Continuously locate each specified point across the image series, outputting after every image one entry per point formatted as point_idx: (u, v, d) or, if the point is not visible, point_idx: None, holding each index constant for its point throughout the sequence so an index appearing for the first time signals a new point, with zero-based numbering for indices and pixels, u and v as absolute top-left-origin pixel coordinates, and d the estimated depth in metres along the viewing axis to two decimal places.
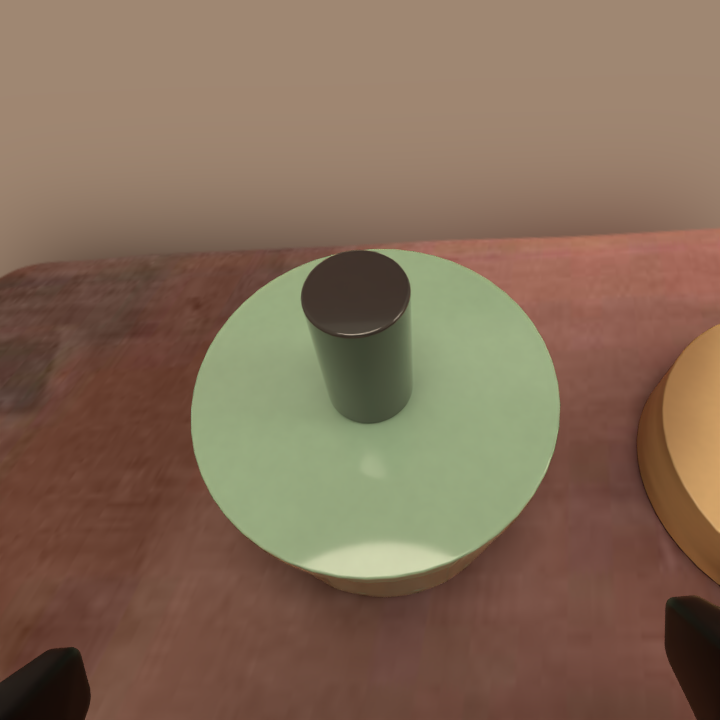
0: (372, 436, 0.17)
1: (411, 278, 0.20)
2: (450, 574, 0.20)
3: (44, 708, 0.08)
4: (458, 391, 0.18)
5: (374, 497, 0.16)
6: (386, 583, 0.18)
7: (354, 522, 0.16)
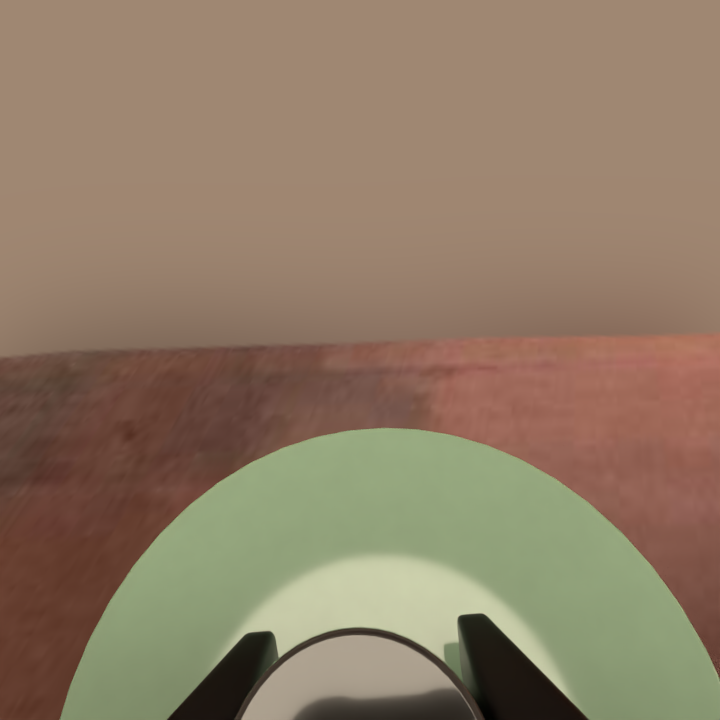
0: None
1: (451, 493, 0.12)
2: None
3: None
4: None
5: None
6: None
7: None
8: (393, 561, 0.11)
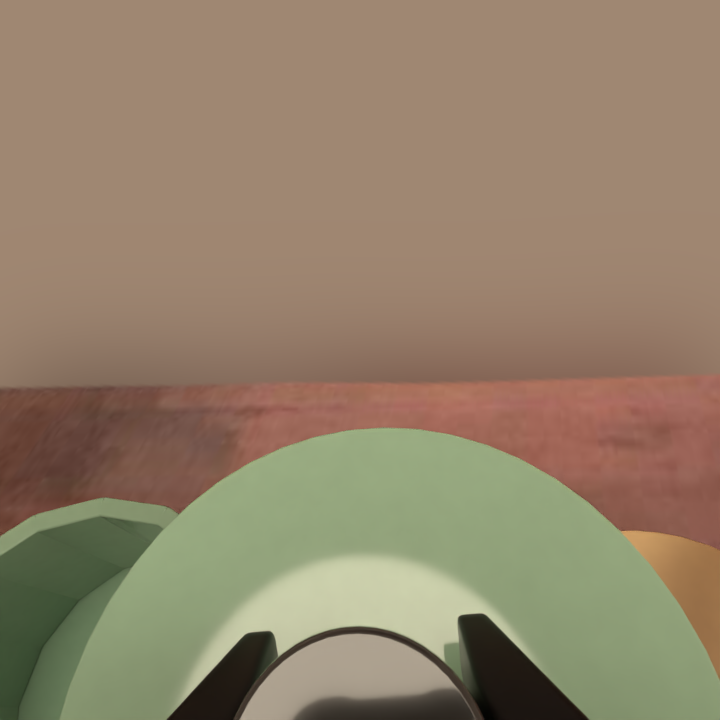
0: None
1: (450, 493, 0.12)
2: None
3: None
4: None
5: None
6: None
7: None
8: (393, 560, 0.11)
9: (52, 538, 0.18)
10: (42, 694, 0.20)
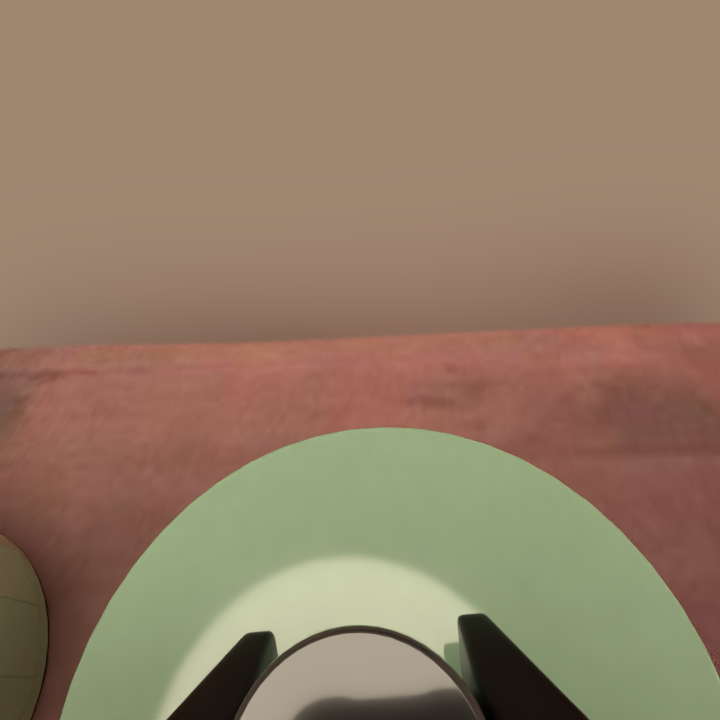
0: None
1: (451, 492, 0.12)
2: None
3: None
4: None
5: None
6: None
7: None
8: (393, 559, 0.11)
9: None
10: None
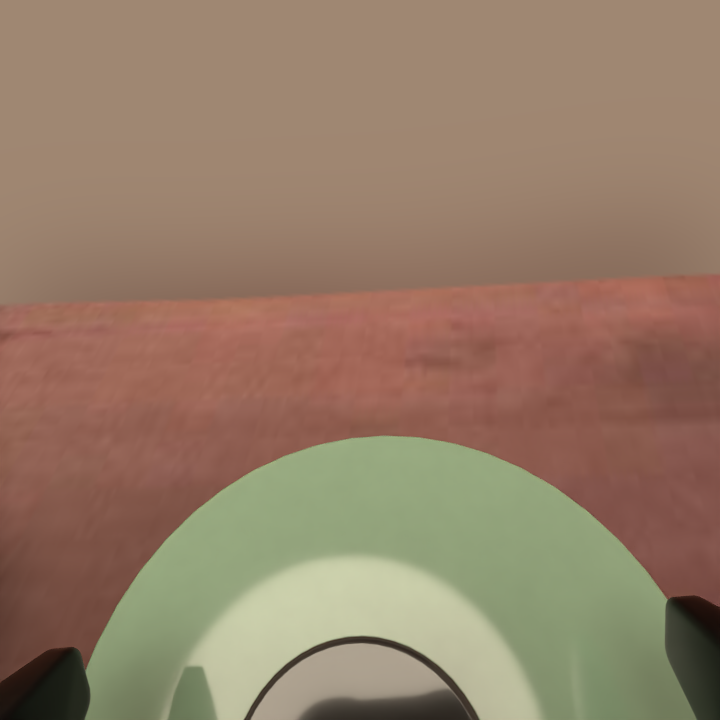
0: None
1: (451, 500, 0.12)
2: None
3: (44, 708, 0.08)
4: None
5: None
6: None
7: None
8: (394, 566, 0.11)
9: None
10: None
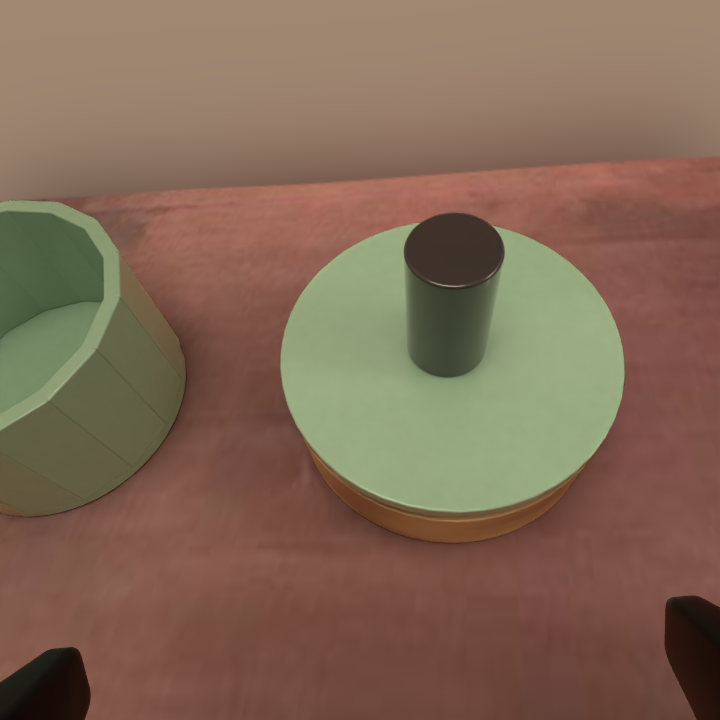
0: (452, 388, 0.19)
1: None
2: (73, 489, 0.21)
3: (44, 708, 0.08)
4: (529, 347, 0.19)
5: (459, 441, 0.18)
6: None
7: (443, 463, 0.18)
8: None
9: None
10: None
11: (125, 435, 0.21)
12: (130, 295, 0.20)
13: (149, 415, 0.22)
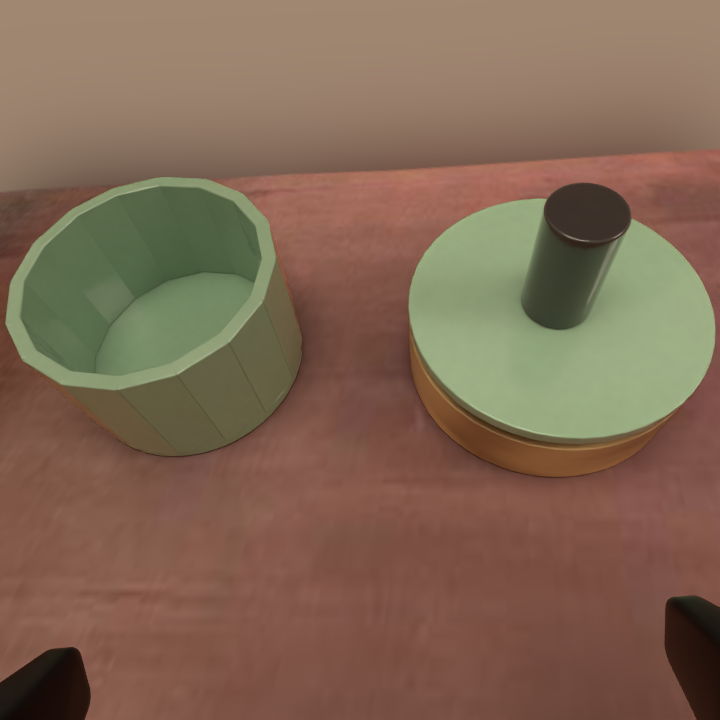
0: (565, 338, 0.22)
1: None
2: (222, 429, 0.24)
3: (44, 708, 0.08)
4: (629, 305, 0.22)
5: (576, 381, 0.21)
6: (151, 426, 0.22)
7: (564, 399, 0.20)
8: None
9: (125, 209, 0.26)
10: (112, 349, 0.28)
11: (267, 383, 0.24)
12: (278, 258, 0.23)
13: (284, 367, 0.25)
